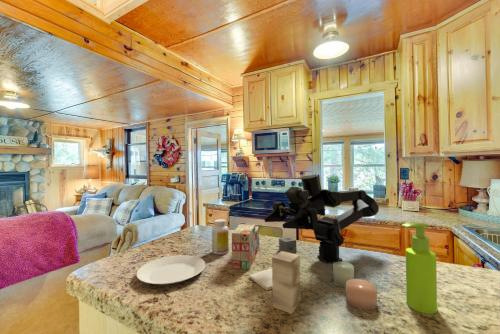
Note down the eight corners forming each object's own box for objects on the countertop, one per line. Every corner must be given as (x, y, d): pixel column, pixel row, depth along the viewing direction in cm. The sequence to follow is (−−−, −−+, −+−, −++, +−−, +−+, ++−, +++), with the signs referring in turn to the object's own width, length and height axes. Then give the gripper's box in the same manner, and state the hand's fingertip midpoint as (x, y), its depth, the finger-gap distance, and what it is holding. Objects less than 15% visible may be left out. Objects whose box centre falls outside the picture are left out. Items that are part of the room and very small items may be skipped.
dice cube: (296, 252, 90) (296, 240, 90) (285, 254, 88) (285, 241, 89) (289, 248, 95) (289, 236, 95) (279, 250, 93) (278, 238, 93)
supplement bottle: (232, 251, 93) (231, 219, 93) (221, 256, 87) (221, 223, 87) (219, 248, 96) (219, 217, 96) (208, 253, 91) (208, 221, 91)
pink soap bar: (360, 291, 62) (359, 277, 62) (383, 306, 55) (383, 289, 55) (340, 297, 59) (339, 282, 59) (362, 313, 53) (362, 295, 53)
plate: (175, 257, 88) (175, 251, 88) (218, 268, 77) (218, 262, 77) (122, 280, 70) (122, 272, 70) (167, 299, 59) (167, 290, 59)
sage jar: (343, 276, 70) (343, 260, 70) (358, 285, 65) (358, 267, 65) (329, 280, 68) (328, 263, 68) (343, 289, 63) (343, 271, 63)
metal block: (282, 296, 60) (281, 250, 60) (300, 303, 57) (299, 254, 57) (272, 306, 55) (272, 257, 56) (291, 313, 53) (290, 261, 53)
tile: (272, 270, 75) (272, 267, 75) (291, 281, 67) (291, 278, 67) (249, 277, 70) (249, 274, 70) (266, 290, 63) (266, 287, 63)
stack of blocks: (245, 247, 98) (244, 218, 98) (259, 248, 96) (259, 219, 97) (231, 269, 77) (231, 232, 77) (250, 270, 75) (249, 233, 76)
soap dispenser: (396, 300, 57) (395, 220, 58) (422, 298, 58) (421, 219, 58) (415, 315, 52) (414, 226, 52) (443, 313, 52) (442, 225, 52)
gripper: (286, 183, 85) (252, 195, 77) (326, 186, 69) (288, 202, 61) (291, 211, 87) (258, 226, 79) (332, 220, 71) (296, 240, 63)
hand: (273, 223), depth 70 cm, fingers open, 9 cm apart
